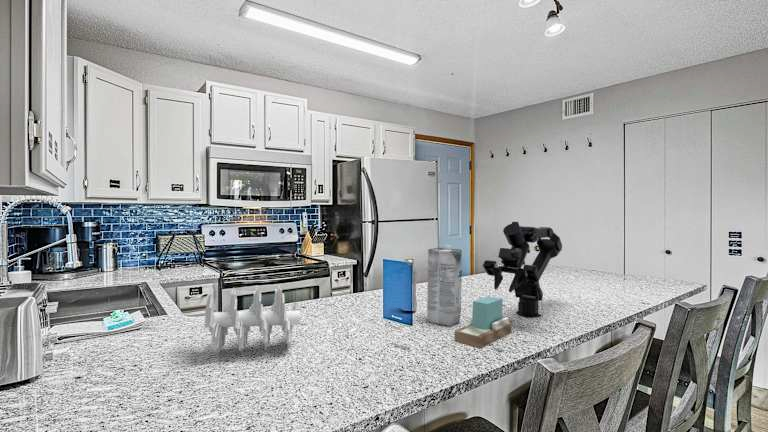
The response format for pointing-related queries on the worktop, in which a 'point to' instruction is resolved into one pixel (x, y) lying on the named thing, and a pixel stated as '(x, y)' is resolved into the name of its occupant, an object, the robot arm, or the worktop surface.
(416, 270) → the plastic bottle
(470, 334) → the brown tray
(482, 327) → the teal block
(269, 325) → the white sculpted piece
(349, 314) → the worktop surface
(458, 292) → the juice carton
